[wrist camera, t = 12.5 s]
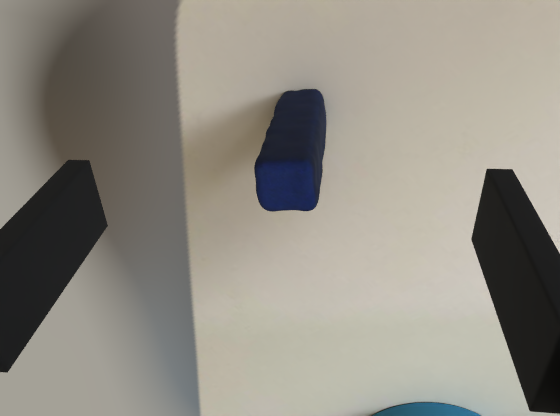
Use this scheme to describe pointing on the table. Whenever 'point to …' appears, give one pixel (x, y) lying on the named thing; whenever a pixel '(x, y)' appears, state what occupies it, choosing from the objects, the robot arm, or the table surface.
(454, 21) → the table surface
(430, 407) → the camera mount
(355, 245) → the table surface
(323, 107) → the eraser
